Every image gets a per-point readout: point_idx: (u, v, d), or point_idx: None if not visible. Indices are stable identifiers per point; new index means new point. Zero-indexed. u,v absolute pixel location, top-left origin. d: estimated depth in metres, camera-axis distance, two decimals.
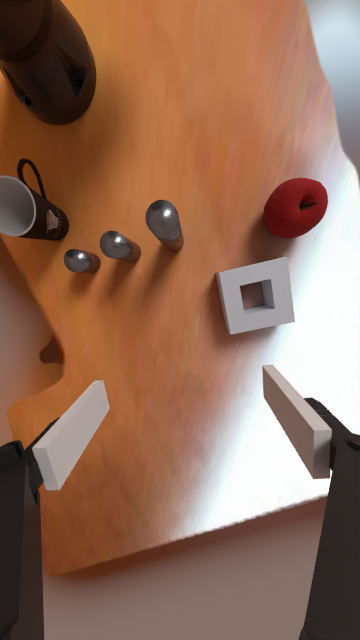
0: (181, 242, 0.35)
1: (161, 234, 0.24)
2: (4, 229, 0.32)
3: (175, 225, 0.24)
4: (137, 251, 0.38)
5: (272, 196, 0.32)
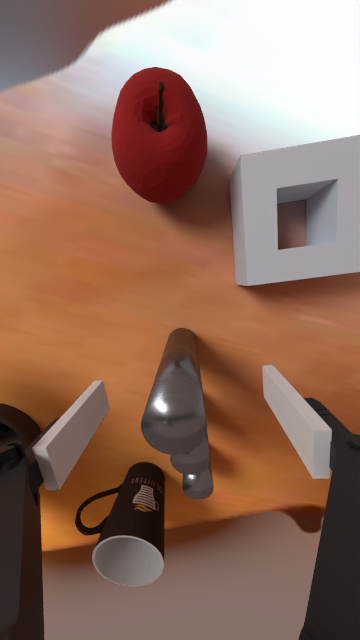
0: (189, 339, 0.23)
1: (204, 433, 0.12)
2: (152, 566, 0.25)
3: (190, 405, 0.11)
4: None
5: (137, 187, 0.19)
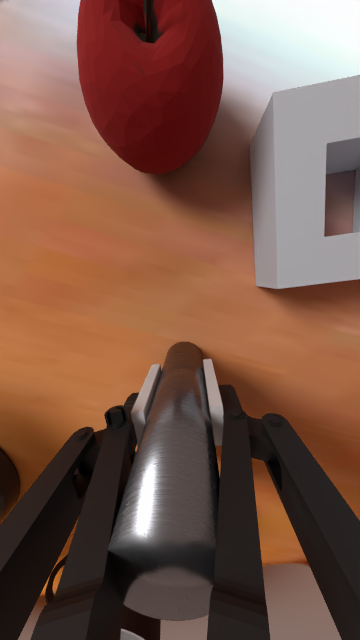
0: (195, 360, 0.17)
1: None
2: None
3: (201, 542, 0.06)
4: None
5: (119, 144, 0.13)
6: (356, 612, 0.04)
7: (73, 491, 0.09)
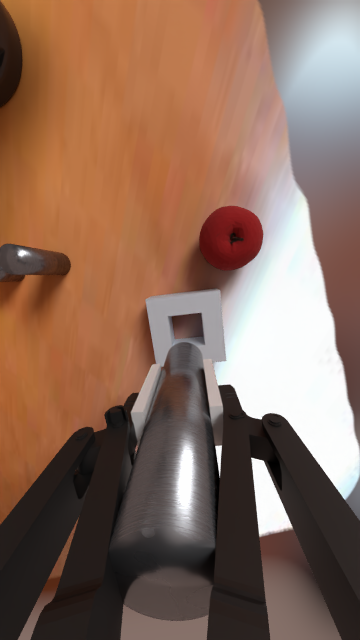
0: (195, 361, 0.17)
1: None
2: None
3: (201, 542, 0.06)
4: (61, 265, 0.33)
5: (205, 223, 0.28)
6: (356, 612, 0.04)
7: (73, 491, 0.09)
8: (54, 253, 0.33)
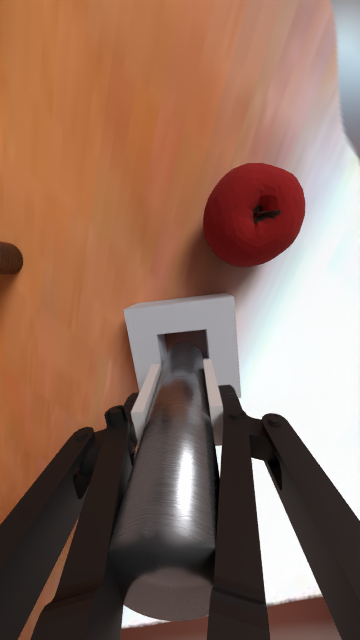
0: (195, 361, 0.17)
1: None
2: None
3: (201, 543, 0.06)
4: (4, 259, 0.23)
5: (212, 192, 0.18)
6: (356, 612, 0.04)
7: (73, 491, 0.09)
8: None
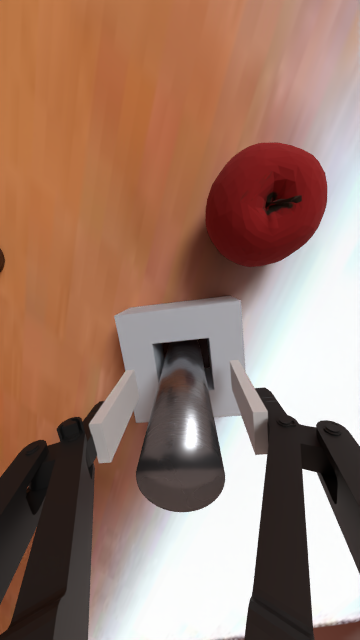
0: (194, 348, 0.20)
1: (221, 485, 0.09)
2: None
3: (203, 449, 0.08)
4: None
5: (216, 179, 0.15)
6: None
7: (26, 506, 0.08)
8: None
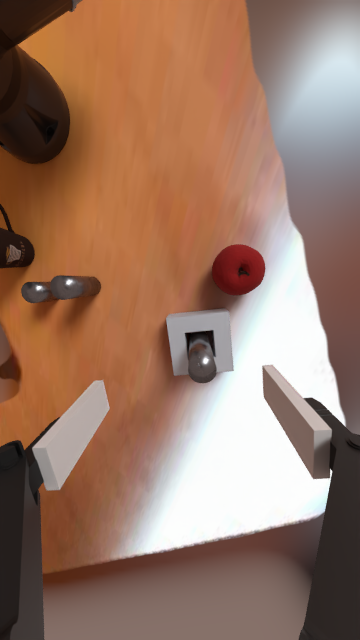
0: (205, 335, 0.39)
1: (215, 372, 0.27)
2: None
3: (209, 360, 0.27)
4: (94, 288, 0.40)
5: (217, 257, 0.34)
6: None
7: None
8: (89, 278, 0.39)
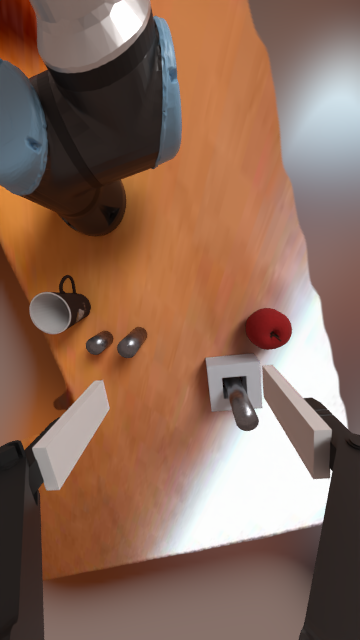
0: (238, 379, 0.46)
1: (257, 423, 0.35)
2: (43, 325, 0.41)
3: (253, 414, 0.35)
4: (144, 339, 0.47)
5: (252, 320, 0.42)
6: None
7: None
8: (141, 332, 0.46)
